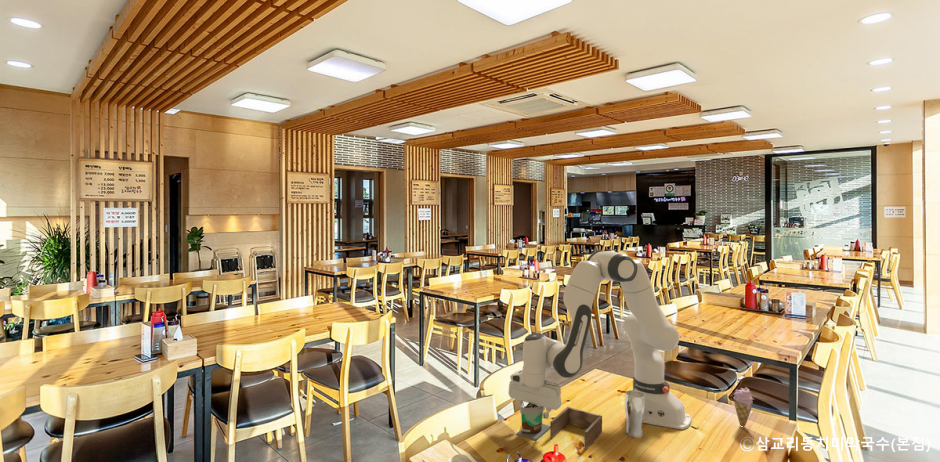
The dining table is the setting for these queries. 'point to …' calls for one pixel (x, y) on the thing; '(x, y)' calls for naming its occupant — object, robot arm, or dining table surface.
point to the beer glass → (634, 413)
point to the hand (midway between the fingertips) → (534, 414)
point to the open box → (578, 423)
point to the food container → (532, 418)
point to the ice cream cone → (743, 404)
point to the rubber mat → (537, 435)
